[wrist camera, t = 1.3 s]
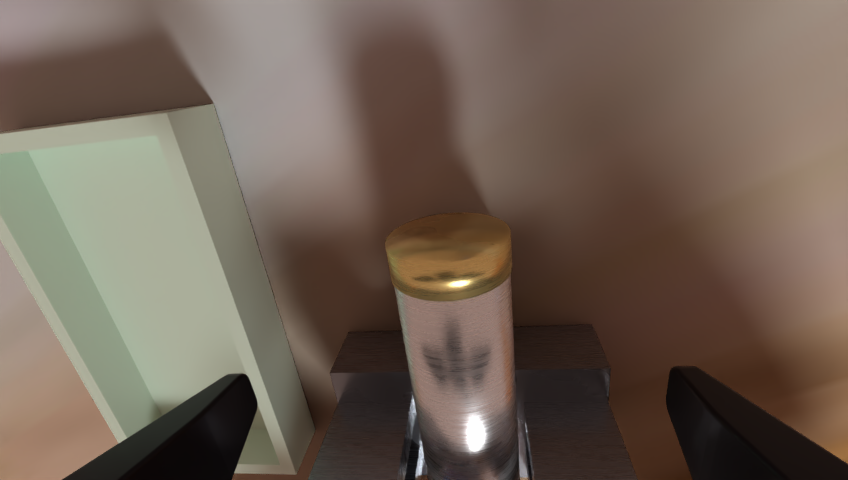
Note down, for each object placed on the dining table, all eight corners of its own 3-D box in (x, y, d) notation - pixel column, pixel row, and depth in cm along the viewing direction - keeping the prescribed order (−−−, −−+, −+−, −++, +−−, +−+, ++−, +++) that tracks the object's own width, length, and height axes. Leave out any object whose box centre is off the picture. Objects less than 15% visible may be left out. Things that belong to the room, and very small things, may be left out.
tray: (315, 429, 21) (296, 474, 18) (168, 429, 22) (134, 470, 20) (213, 103, 14) (166, 112, 12) (17, 129, 16) (-57, 141, 13)
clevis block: (587, 426, 18) (646, 626, 12) (370, 425, 20) (320, 602, 14) (596, 218, 14) (692, 350, 8) (325, 237, 16) (224, 360, 10)
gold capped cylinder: (515, 481, 17) (532, 572, 14) (435, 485, 17) (435, 576, 14) (500, 207, 12) (521, 256, 9) (391, 219, 13) (377, 270, 10)
